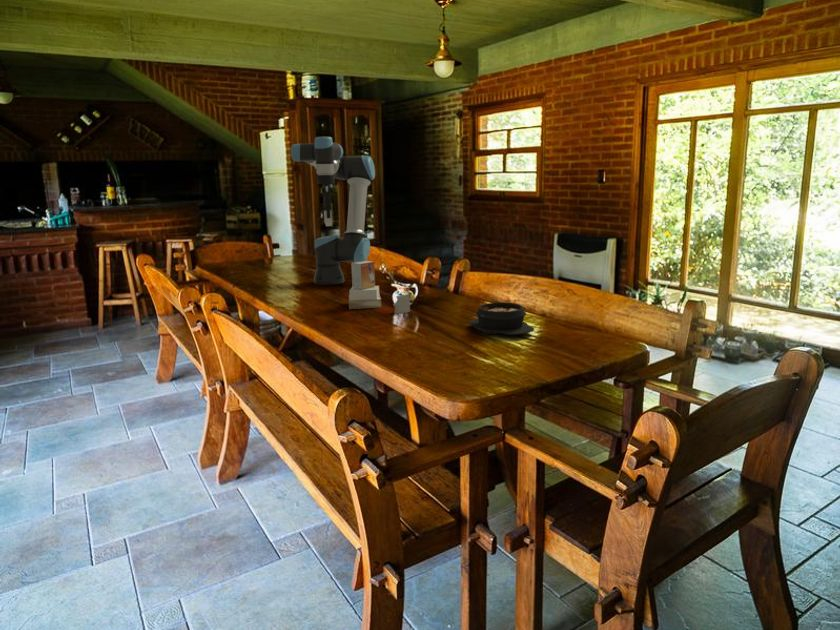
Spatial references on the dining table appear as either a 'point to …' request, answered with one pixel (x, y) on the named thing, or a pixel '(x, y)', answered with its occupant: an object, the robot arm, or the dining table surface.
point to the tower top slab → (364, 293)
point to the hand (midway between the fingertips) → (328, 224)
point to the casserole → (501, 319)
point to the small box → (363, 275)
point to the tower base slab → (364, 303)
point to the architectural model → (402, 304)
